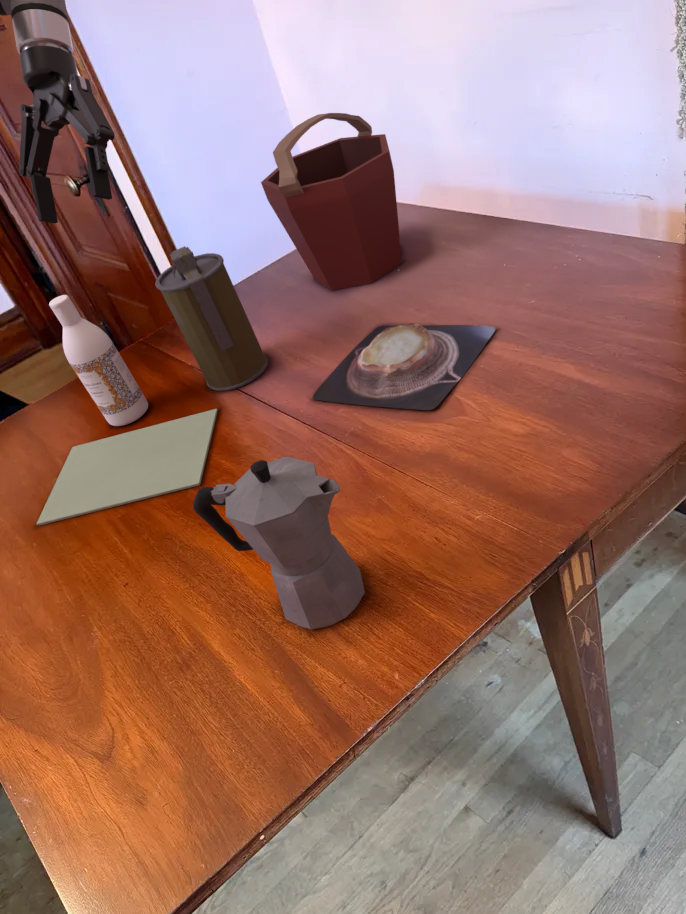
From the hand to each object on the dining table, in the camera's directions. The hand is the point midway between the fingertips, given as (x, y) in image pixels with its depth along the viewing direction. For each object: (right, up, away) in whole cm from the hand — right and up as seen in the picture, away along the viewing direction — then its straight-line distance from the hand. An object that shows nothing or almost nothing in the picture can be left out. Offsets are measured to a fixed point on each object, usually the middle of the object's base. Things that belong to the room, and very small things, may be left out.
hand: (74, 210), depth 111 cm
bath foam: (+5, -29, +8) cm, 31 cm away
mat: (+10, -38, -4) cm, 40 cm away
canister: (+22, -23, +8) cm, 33 cm away
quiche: (+49, -24, -3) cm, 55 cm away
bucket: (+40, +1, +26) cm, 48 cm away
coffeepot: (+40, -55, -33) cm, 75 cm away
